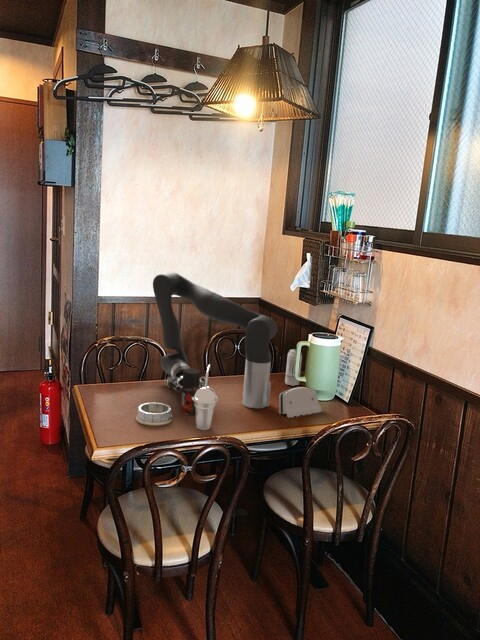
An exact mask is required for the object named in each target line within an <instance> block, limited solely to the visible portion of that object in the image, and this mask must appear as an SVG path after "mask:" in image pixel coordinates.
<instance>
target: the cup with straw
mask: <svg viewBox="0 0 480 640" xmlns="http://www.w3.org/2000/svg"><path fill="white" fill-rule="evenodd" d="M206 368H207V370H206V371H205V372H206V373H205V378H206V381H205V386H203V387H200V388H199V389H197V391H196V392H195V394H194V395H193V397H192V400H193V401H194V404H195V425H196V426H195V428H196V429H198V430H202V431H207V430H210V428H211V424H212V419H213V413H214V409H215V406H216V402H218V401H219V397H218V396H217V394H216V392H215V389H213V388H212V387H210V386H209V385H208V386H207V383H208V384H209V382H208V381H209V372H210V369H211V364H208V366H207V367H206Z"/></svg>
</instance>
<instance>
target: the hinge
mask: <svg viewBox="0 0 480 640" xmlns="http://www.w3.org/2000/svg"><path fill="white" fill-rule="evenodd" d="M321 412H322V407H321V405H320V404H319V399H318V395H317V391H316V389H314V388H310V387H304V386H297V387H291V388H288V389H286V390H285V391H282V392H281V393H279V395H278V414H280V415H282V414H283V415H286V418H287V417H288V419H290V418H295V417H294V416H296V417H300V415H302V416H307V415H312V413H313V414H317V413H321ZM306 414H307V415H306ZM289 417H290V418H289Z"/></svg>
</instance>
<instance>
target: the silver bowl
mask: <svg viewBox="0 0 480 640" xmlns="http://www.w3.org/2000/svg"><path fill="white" fill-rule="evenodd" d="M135 420H136V422H137V423H139V424H141V425H144V426H149V427H161V426H166V425H168V424H171V422H172V421H173V415H172V408H171V406H170V405H168V404H167V403H164V402H163V403H162V402H155V401H154V402H146V403H141V404H139V406H137V414H136V415H135Z"/></svg>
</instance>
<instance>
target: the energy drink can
mask: <svg viewBox="0 0 480 640" xmlns="http://www.w3.org/2000/svg"><path fill="white" fill-rule="evenodd" d="M296 350H297V349H295V348H294V349H292V348H291V349H289V351H288V353H287V359H286V368H285V369H286V370H285V378H284V384H285V385H286V384H287V385H291V386H295V385H298V386H299V385H300V380H299V381H298V380H296V379H295V373H294V372H295V361H296ZM302 360H303V354H302V353H301V355H300V364H299V376H300V377H301V369H302ZM287 385H286V386H287Z"/></svg>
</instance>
